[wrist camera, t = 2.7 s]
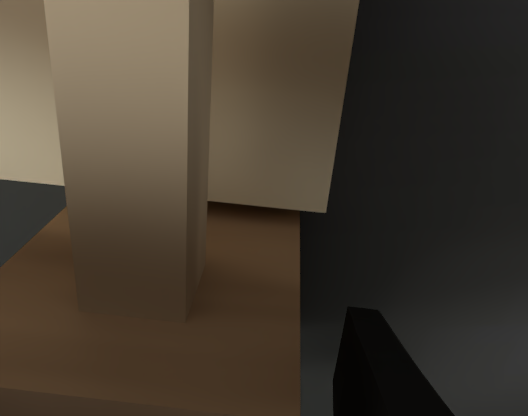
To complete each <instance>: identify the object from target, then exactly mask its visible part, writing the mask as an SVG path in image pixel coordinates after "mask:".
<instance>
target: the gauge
mask: <svg viewBox="0 0 528 416" xmlns="http://www.w3.org/2000/svg"><path fill="white" fill-rule="evenodd" d="M44 8H45V17H46V26H47V35H48V43H49V52H50V61H51V70H52V79H53V88H54V96H55V105H56V114H57V123H58V132H59V141H60V149H61V158H62V167H63V176H64V185H65V194H66V202H67V206H66V207H65V208H64V209H63V210H62V211H61V212H60V213H59V214H58V215H57V216H55V217H54V218H53V219H52V220H51V221H50V222H49V223H48V224H47V225H46V226H45V227H44V228H43V229H41V230H40V231H39V232H38V233H37V234H36V235H35V236H34V237H33V238H32V239H31V240H30V241H29V242H27V243H26V244H25V245H24V246H23V247H22V248H21V249H20V250H19V251H18V252H17V253H16V254H15V255H13V256H12V257H11V258H10V259H9V260H8V261H7V262H6V263H5V264H4V265H3V266H2V267H1V268H0V416H300V210H291V209H282V208H272V207H262V206H253V205H243V204H234V203H224V202H215V201H207V199H208V169H209V138H210V108H211V77H212V47H213V16H214V0H44Z"/></svg>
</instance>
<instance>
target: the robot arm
mask: <svg viewBox="0 0 528 416" xmlns="http://www.w3.org/2000/svg"><path fill="white" fill-rule="evenodd" d="M333 414H334V416H455V415H454V414H453V413H452V412H451V410H450V409H449V408H448V407H447V405H446V404H445V403H444V402H443V400H442V399H441V398H440V396H439V395H438V394H437V392H436V391H435V390H434V388H433V387H432V386H431V384H430V383H429V382H428V380H427V379H426V378H425V376H424V375H423V374H422V372H421V371H420V370H419V368H418V367H417V365H416V364H415V363H414V361H413V360H412V358H411V357H410V356H409V354H408V353H407V351H406V350H405V348H404V347H403V345H402V344H401V342H400V341H399V340H398V338H397V337H396V335H395V334H394V332H393V331H392V329H391V328H390V326H389V325H388V323H387V322H386V320H385V319H384V317H383V316H382V314H381V313H380V312H379V311H378V310H374V309H365V308H356V307H348V308H347V313H346V318H345V323H344V328H343V333H342V338H341V343H340V348H339V353H338V358H337V363H336V368H335V373H334V378H333Z"/></svg>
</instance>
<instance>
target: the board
mask: <svg viewBox="0 0 528 416" xmlns="http://www.w3.org/2000/svg"><path fill="white" fill-rule="evenodd" d="M358 6H359V0H214V16H213V47H212V77H211V108H210V138H209V169H208V199H207V201H215V202H224V203H234V204H243V205H253V206H262V207H272V208H282V209H291V210H301V211H310V212H320V213H326V209H327V203H328V196H329V190H330V184H331V177H332V171H333V165H334V158H335V152H336V146H337V139H338V133H339V127H340V120H341V114H342V108H343V101H344V95H345V89H346V82H347V76H348V70H349V63H350V57H351V51H352V44H353V38H354V32H355V25H356V19H357V12H358ZM0 179H4V180H14V181H23V182H33V183H42V184H52V185H61V186H65V185H64V176H63V167H62V158H61V149H60V141H59V132H58V123H57V114H56V105H55V96H54V88H53V79H52V70H51V61H50V52H49V43H48V35H47V26H46V17H45V8H44V0H0Z"/></svg>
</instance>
